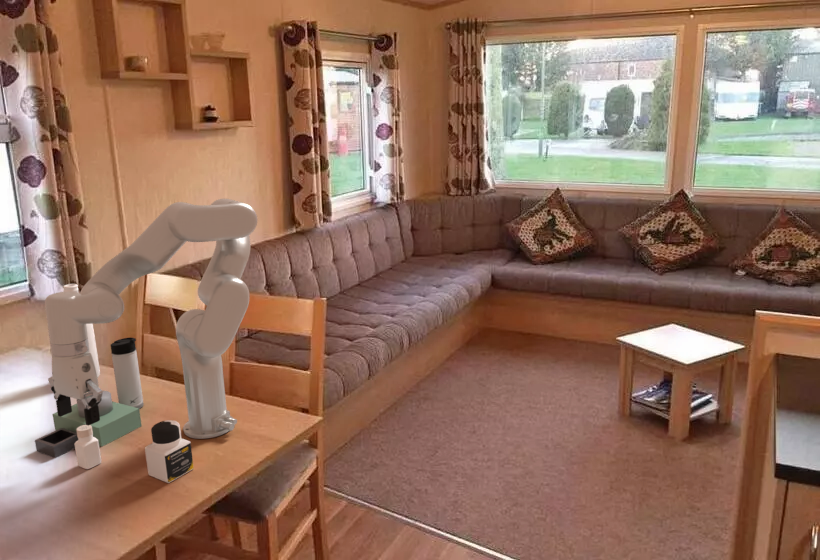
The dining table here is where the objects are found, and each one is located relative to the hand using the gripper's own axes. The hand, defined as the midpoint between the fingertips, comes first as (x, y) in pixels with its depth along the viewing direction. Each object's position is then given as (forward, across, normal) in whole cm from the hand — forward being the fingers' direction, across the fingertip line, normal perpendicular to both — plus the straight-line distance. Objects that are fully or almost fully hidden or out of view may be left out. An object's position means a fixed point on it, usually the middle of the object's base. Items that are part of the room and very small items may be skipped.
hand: (78, 418), depth 150 cm
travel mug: (+12, +16, -27) cm, 34 cm away
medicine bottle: (+12, -20, -7) cm, 25 cm away
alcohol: (+12, +48, -35) cm, 60 cm away
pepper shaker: (+12, 0, -1) cm, 12 cm away
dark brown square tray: (+12, +14, -3) cm, 18 cm away
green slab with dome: (+12, +14, -14) cm, 23 cm away
